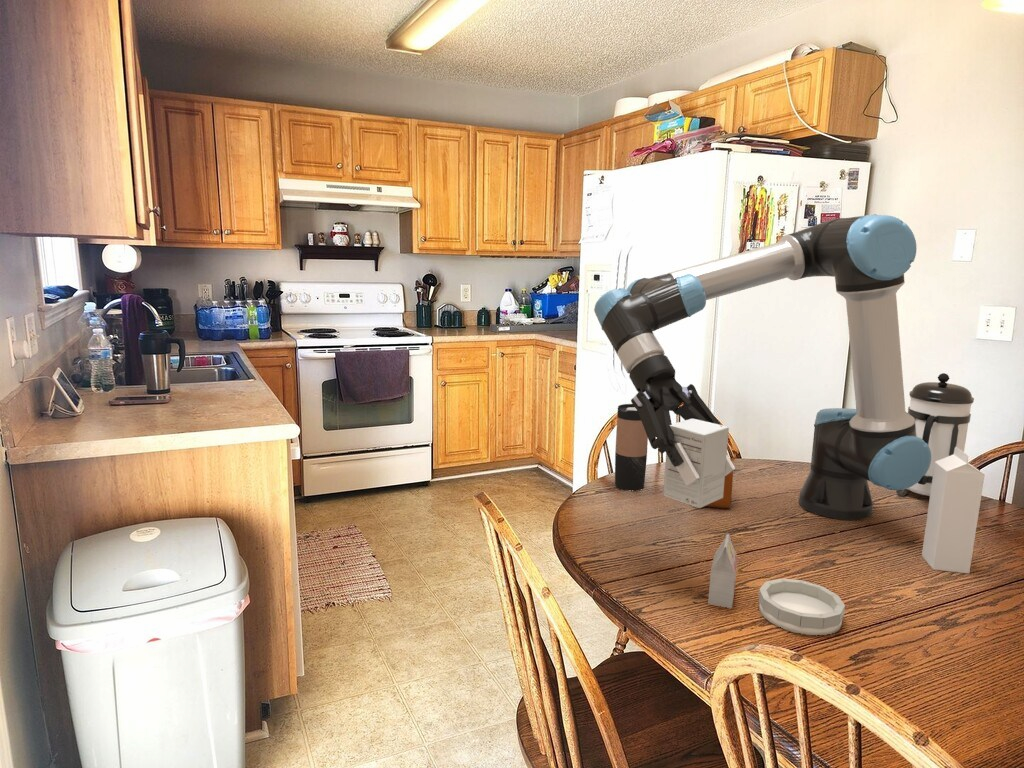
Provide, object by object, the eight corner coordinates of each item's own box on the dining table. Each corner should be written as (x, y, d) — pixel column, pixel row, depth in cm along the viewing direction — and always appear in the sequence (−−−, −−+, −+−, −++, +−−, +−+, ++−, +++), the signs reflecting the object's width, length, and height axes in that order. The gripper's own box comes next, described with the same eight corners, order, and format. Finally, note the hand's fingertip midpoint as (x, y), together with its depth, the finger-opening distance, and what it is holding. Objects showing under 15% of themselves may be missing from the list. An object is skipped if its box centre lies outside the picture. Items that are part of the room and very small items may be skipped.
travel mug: (643, 481, 166) (647, 404, 163) (646, 492, 159) (651, 411, 155) (612, 480, 167) (616, 403, 163) (614, 490, 160) (618, 410, 156)
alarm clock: (686, 475, 173) (689, 433, 171) (720, 477, 171) (723, 435, 169) (691, 508, 150) (695, 459, 148) (730, 511, 148) (734, 462, 146)
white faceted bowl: (827, 599, 110) (829, 582, 109) (853, 639, 98) (855, 620, 97) (752, 592, 111) (753, 576, 111) (768, 631, 100) (770, 613, 99)
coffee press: (875, 484, 168) (890, 367, 162) (939, 485, 167) (956, 368, 162) (914, 509, 151) (932, 380, 145) (985, 511, 150) (1006, 381, 145)
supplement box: (687, 486, 117) (692, 417, 114) (724, 498, 111) (730, 426, 109) (661, 496, 112) (666, 424, 110) (699, 509, 107) (705, 434, 104)
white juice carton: (708, 604, 107) (712, 546, 106) (712, 585, 114) (716, 530, 112) (731, 608, 106) (736, 550, 104) (734, 589, 112) (739, 534, 110)
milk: (932, 570, 121) (948, 454, 117) (921, 556, 127) (935, 445, 123) (970, 574, 119) (987, 456, 115) (957, 559, 125) (973, 447, 121)
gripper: (675, 371, 126) (738, 476, 116) (591, 382, 115) (652, 499, 105) (699, 348, 121) (766, 456, 111) (613, 356, 110) (680, 477, 100)
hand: (711, 477), depth 108 cm, fingers closed on supplement box, 8 cm apart
